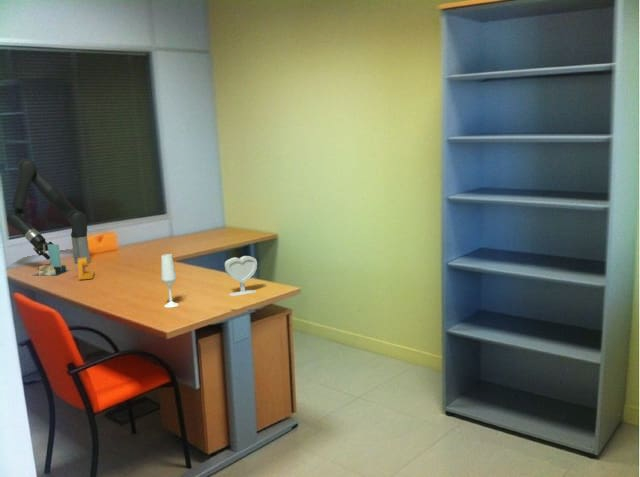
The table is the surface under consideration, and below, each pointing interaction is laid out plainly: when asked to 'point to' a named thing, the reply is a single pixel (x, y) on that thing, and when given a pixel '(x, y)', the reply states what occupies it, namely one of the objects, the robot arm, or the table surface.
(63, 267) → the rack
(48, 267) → the offcut top
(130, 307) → the table surface
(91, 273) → the bracket
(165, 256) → the champagne flute
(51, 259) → the teal rectangular slab
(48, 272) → the block
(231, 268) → the heart sculpture
